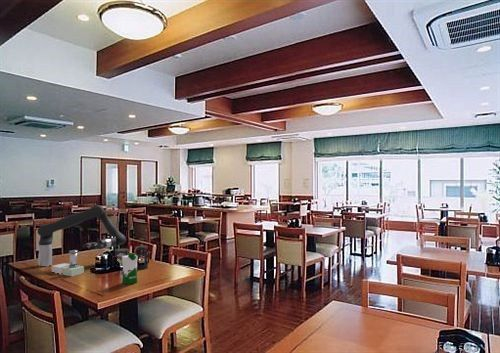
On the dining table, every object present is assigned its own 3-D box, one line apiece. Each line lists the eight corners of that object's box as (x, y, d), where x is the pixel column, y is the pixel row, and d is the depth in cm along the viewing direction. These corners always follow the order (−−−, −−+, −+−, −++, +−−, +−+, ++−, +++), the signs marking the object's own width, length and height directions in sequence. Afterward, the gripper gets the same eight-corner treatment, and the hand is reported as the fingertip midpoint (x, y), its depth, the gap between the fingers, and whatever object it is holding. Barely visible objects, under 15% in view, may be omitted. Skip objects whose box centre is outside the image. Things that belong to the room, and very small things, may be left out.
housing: (67, 267, 260) (67, 251, 260) (74, 265, 265) (74, 249, 265) (72, 268, 257) (72, 252, 257) (79, 266, 262) (79, 250, 263)
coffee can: (128, 268, 276) (128, 250, 276) (114, 269, 273) (114, 251, 273) (129, 265, 286) (129, 247, 286) (115, 266, 283) (115, 248, 283)
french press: (139, 270, 270) (139, 240, 270) (132, 268, 276) (132, 239, 276) (152, 267, 280) (152, 238, 280) (144, 265, 285) (144, 237, 285)
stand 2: (62, 274, 259) (62, 267, 259) (75, 271, 268) (75, 264, 268) (71, 276, 254) (71, 269, 254) (83, 273, 263) (83, 266, 263)
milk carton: (127, 285, 232) (127, 255, 232) (120, 283, 238) (120, 253, 238) (139, 282, 239) (139, 252, 239) (131, 280, 245) (131, 251, 245)
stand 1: (51, 272, 265) (51, 265, 265) (64, 269, 274) (64, 263, 274) (60, 274, 260) (60, 267, 260) (72, 271, 269) (72, 264, 269)
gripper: (98, 238, 290) (80, 241, 276) (110, 239, 284) (92, 242, 269) (97, 247, 290) (80, 250, 276) (109, 249, 284) (92, 252, 269)
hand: (86, 246), depth 273 cm, fingers open, 8 cm apart
